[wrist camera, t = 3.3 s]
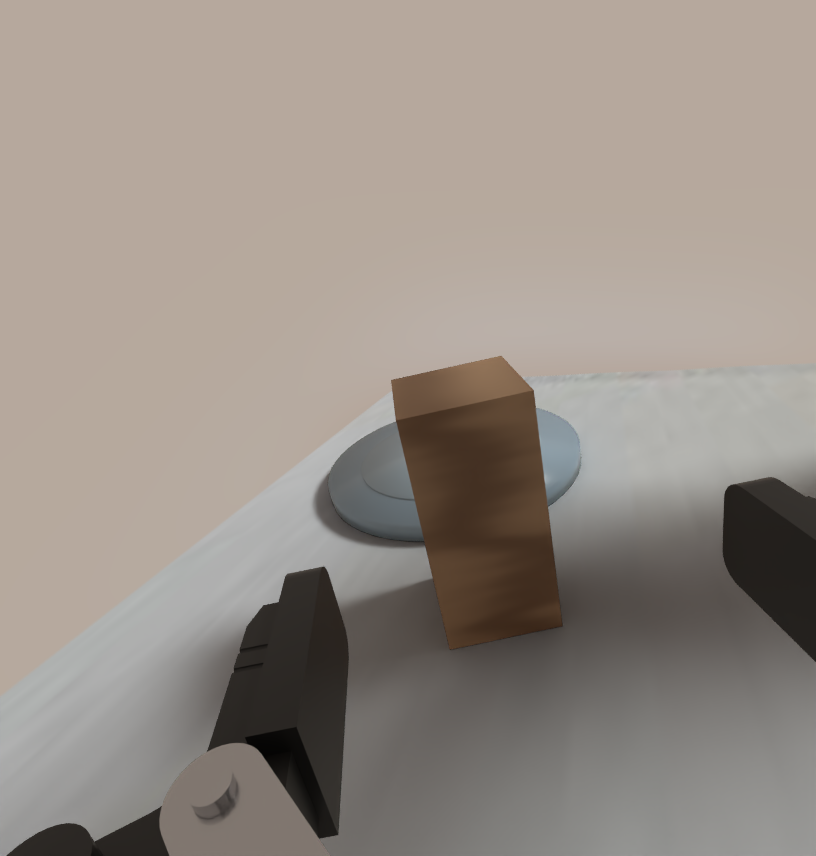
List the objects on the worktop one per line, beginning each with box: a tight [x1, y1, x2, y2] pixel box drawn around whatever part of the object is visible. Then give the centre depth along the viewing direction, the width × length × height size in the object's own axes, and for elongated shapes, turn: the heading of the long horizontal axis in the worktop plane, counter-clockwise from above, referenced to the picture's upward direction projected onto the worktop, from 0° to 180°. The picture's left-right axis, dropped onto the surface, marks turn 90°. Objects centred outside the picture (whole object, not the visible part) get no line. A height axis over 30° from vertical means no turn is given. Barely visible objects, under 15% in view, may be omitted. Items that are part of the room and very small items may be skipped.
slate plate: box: [328, 408, 581, 541], centre depth 38 cm, size 18×18×1 cm
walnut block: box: [391, 356, 562, 650], centre depth 23 cm, size 5×5×11 cm
